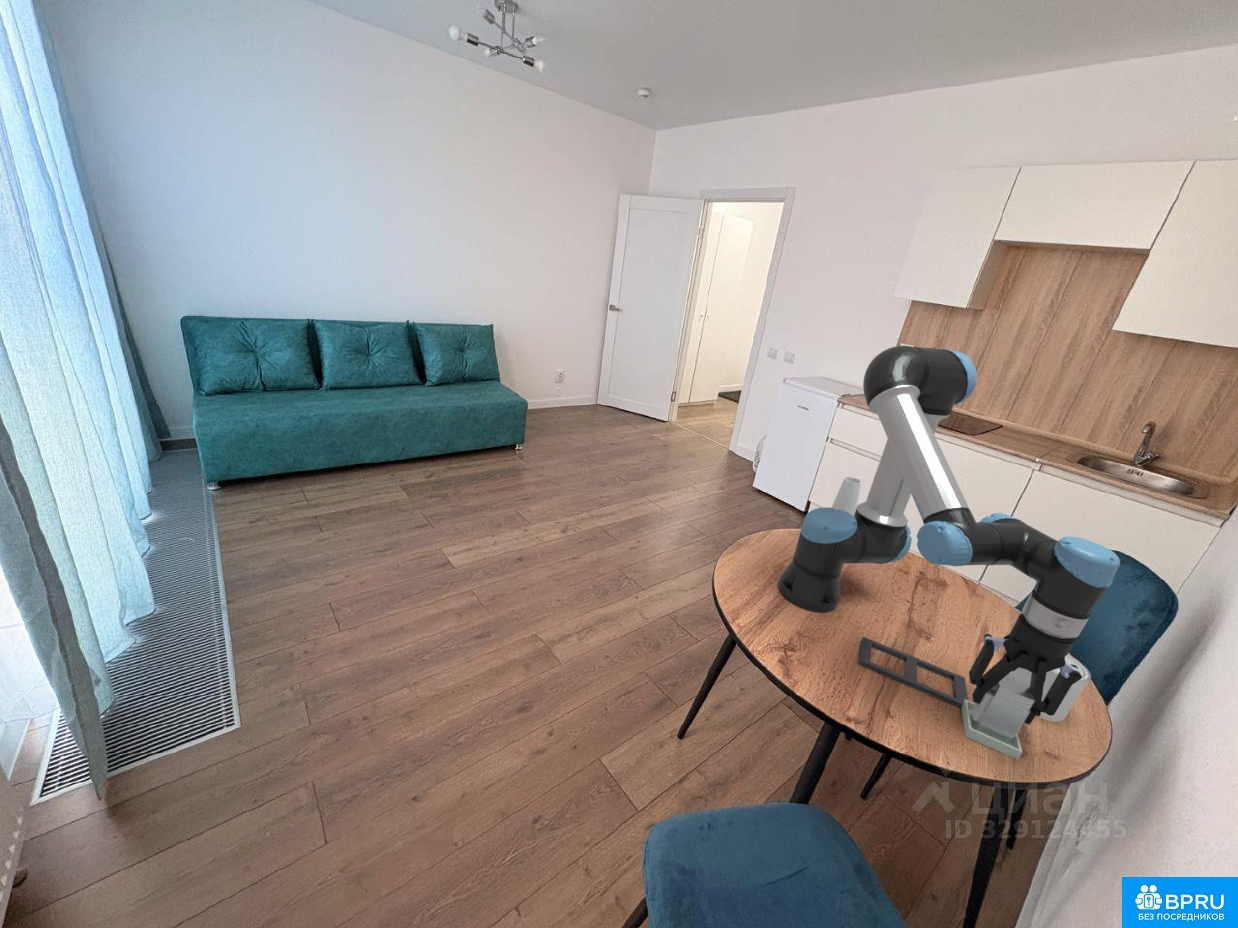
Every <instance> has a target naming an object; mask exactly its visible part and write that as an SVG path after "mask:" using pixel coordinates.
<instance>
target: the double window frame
mask: <svg viewBox="0 0 1238 928" xmlns="http://www.w3.org/2000/svg"><path fill="white" fill-rule="evenodd" d="M872 648H873V649H876V650H878V651H881V652H884V653H886V654H888V655H891V656H893V657H896V658H898V659H901V660H904V675H902V674H900V673H897V672H895V671H893V670H890V669H888V668H885V667H884V666H881V665H878V664H876V663H874V662H871V658H872V656H871V655H872ZM859 649H860V651H859V657H858V665H860V666H862V667H865V668H867V669H870V670H871V671H874V672H876V673H879V674H880V675H884V676H885V677H888V678H890V679H892V680H895V681H897V682H900V683H901V684H904V685H906V686H909V687H911V688H913V689H916V690H918V691H921V692H923V693H924V694H927V695H930V696H932V697H934V698H937V699H939V700H942V701H943V702H946V703H949V704H950V705H953V706H955V707H958V708H960V709H961V708H962V706H963V702H964V700H965V699H966V700H968V701H969V697H968V691H967V685H966V678H965V676H962V675H959V674H957V673H954V672H951V671H949V670H948V669H945V668H942V667H939V666H937V665H934V664H932V663H929V662H927V661H925V660H922V659H919V658H917V657H915V656H913V655H911V654H907V653H905V652H902V651H900V650H897V649H895V648H893V647H890V646H887V645H885V644H882V643H880V642H877V641H875V640H873V639H870V638H868V637H865V636H862V637H861V642H860V648H859ZM918 667H921V668H923V669H926V670H928V671H930V672H933V673H935V674H938V675H940V676H943V677H945V678H947V679H949V680H951V681H952V690H953V696H952V695H949V694H947V693H944V692H942V691H940V690H938V689H935V688H933V687H931V686H928V685H925V684H924V683H921V682H918ZM968 708H969V706H968Z"/></svg>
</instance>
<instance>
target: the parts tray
mask: <svg viewBox="0 0 1238 928" xmlns="http://www.w3.org/2000/svg"><path fill="white" fill-rule="evenodd" d="M974 703H975V702H973V701H970V700H969V699H968V700H966V699H965V700H964V702H963V706H962V708H960V710H961V715H962V725H963V731H964V737H966V738H967V739H970V740H972V741H974V742H976V743H979V744H981V745H983V746H985V747H988V748H990V749H992V750H995V751H996V752H999V753H1001V754H1003V755H1006V756H1008V757H1010V758H1012V759H1014V760H1017V761H1018V760H1019V759H1020V757H1021V756H1022V754H1023V748H1022V746H1021V742H1020V737H1019V734H1018V733H1019V732H1018V733H1017V735H1016V736H1015V738H1014V737H1013V738H1012V740H1011V741H1010V743H1009V745H1008V744H1006V743H1004V742H1001V741H999V740H997V739H995V738H992V737H990V736H988V735H986V734H983V733H981V732H979V731H977V730H975V724H974V720H973V718H972V711H971V709H972V707H973V705H974ZM968 706H969V708H968Z"/></svg>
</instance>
